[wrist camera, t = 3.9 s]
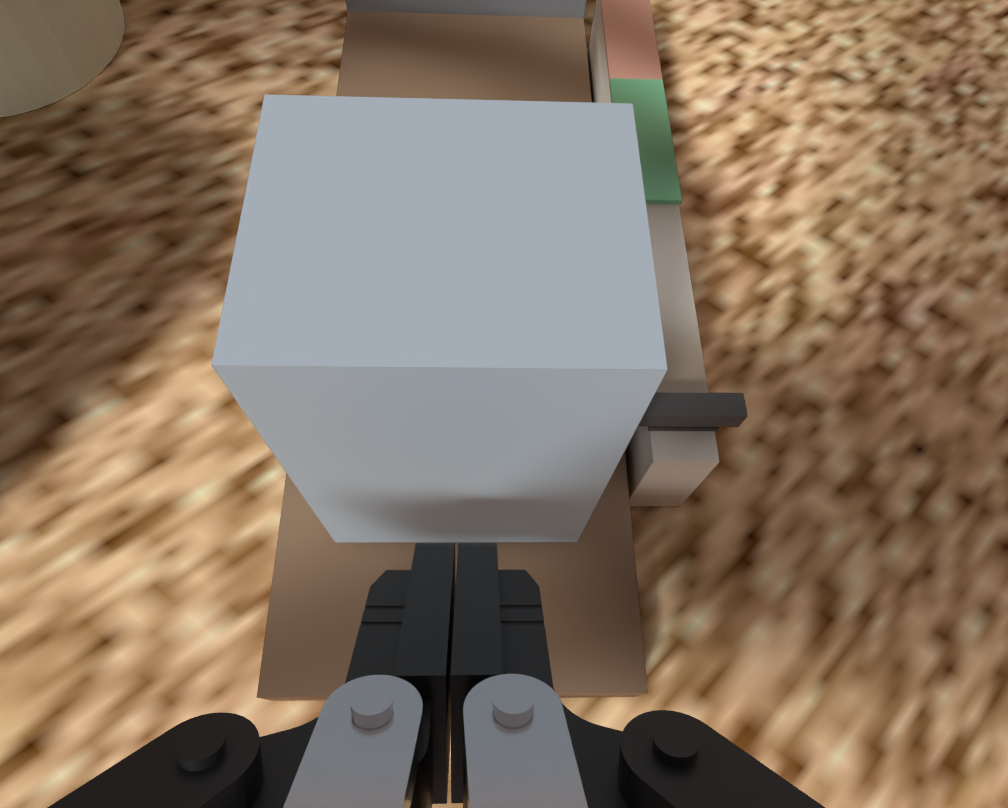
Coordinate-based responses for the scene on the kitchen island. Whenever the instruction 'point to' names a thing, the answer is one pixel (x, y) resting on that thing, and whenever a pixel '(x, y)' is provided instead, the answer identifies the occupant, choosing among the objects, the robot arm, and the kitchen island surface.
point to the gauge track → (652, 449)
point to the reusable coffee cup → (54, 49)
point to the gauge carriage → (449, 313)
